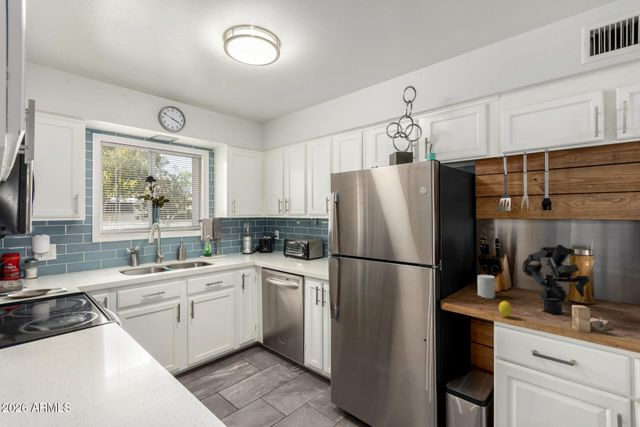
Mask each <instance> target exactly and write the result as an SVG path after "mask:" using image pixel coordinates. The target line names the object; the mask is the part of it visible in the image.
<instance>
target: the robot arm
mask: <svg viewBox="0 0 640 427" xmlns="http://www.w3.org/2000/svg"><path fill="white" fill-rule="evenodd" d="M539 250H540V251H539ZM539 250H538V251H537V252H534V253H530V254H528V256H527V258H526V259H525V260H524V261H523V263H522V266H521V267H522V268H521V270H522V273H523V274H524V275H526V276H528V277H532V278H533V279H534V280H535V281H536V283H537V284H538V285H539V286H540V287H541V288H542V289H543V290H542V292H541V293H540V299H541V300H542V301H543V309H542V312H543V313H548V314H550V315H551V314H552V315H553V316H554V315H555V316H556V315H562V314H564V312H563V305H562V303H565V300H566V296H567V294H566V290H565V289H564V288H563V286H561V285H560V283H570V284H571V283H572V284H573V285H574V289H576V291H577V292H578V294H579V295H580V297H582V298H583V297H585V288H584V287H586V286H587V285H588V283H589V282H590V281H591V279H590V278H589V276H588V275H584V274H583V275H581V274H580V275H579V274H578V275H576V276H575V277H574V278H573V277H572V276H573V274H575V273H577V272H579V271H580V268H579V266H578V265H577V264H576V263H575V264H569V265H568V264H567V265H566V264H564V263H565V262H566V260H567V259H568V258H569V256H570V254H571V250H570V249H569V248H567V247H566V246H563V245H562V244H557V245H556V246H542V247H541V248H540V249H539ZM546 259H547V260H546ZM541 260H546V263H545V264H546V266H549V268H550V274H549V273H547V274H546V273H545V274H544V273H542V272H541V271H542V268H543V265H542V263H541ZM532 262H537V263H538V264H535V263H534V264H531V263H532Z"/></svg>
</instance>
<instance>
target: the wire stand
mask: <svg viewBox="0 0 640 427" xmlns="http://www.w3.org/2000/svg"><path fill="white" fill-rule="evenodd" d="M598 319H599V321H590V330H592V331H596V332H603V331H606V330H610V329H612V326H611V325H609V324H603V322H602V320H603V319H602V317H598Z"/></svg>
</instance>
